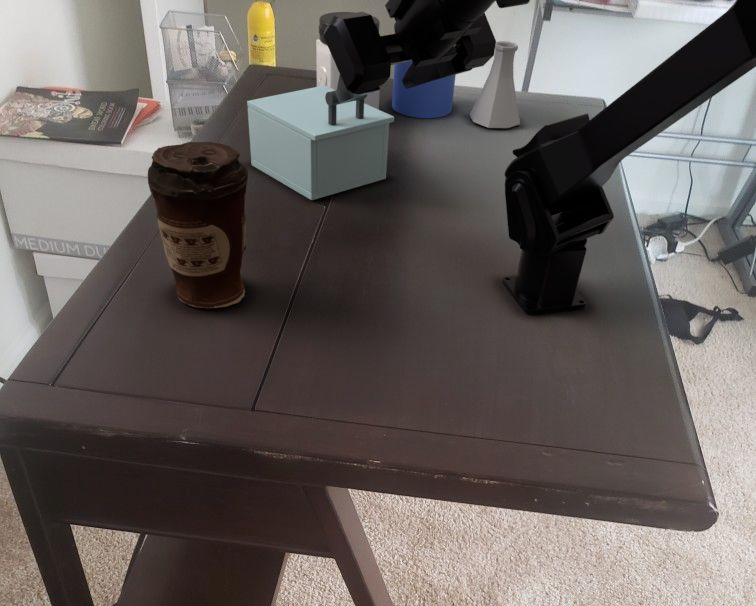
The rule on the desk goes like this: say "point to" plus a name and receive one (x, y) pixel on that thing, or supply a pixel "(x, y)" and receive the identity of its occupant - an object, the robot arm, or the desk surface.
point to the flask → (498, 91)
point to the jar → (327, 66)
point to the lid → (320, 112)
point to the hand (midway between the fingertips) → (372, 91)
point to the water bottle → (422, 95)
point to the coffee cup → (201, 219)
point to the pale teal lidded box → (317, 157)
